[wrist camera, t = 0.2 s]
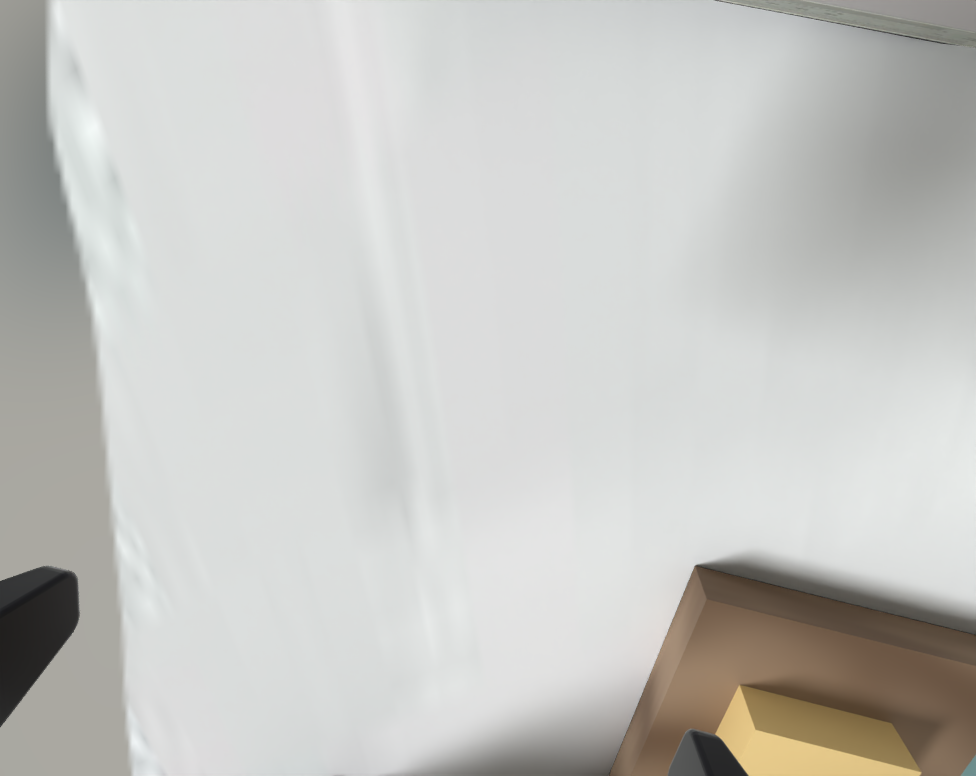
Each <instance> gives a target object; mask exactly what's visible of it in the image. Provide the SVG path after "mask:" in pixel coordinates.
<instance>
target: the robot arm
mask: <svg viewBox="0 0 976 776" xmlns="http://www.w3.org/2000/svg"><path fill="white" fill-rule="evenodd" d="M79 615H80V612H79V592H78V578H77V576H76V575H75V573H74V572H72V571H69V570H65V569H61V568H57V567H53V566H43V567H40V568H36V569H33V570H30V571H28V572H25V573H22V574H19V575H16V576H13V577H11V578H8V579H5V580H2V581H0V727H1V726H2V724H3V723H4V722H5V721H6V719H7V718H8V717H9V716H10V714H11V713H12V712H13V710H14V709H15V708H16V707H17V705H18V704H19V703H20V701H21V700H22V699H23V697H24V696H25V695H26V693H27V692H28V691H29V690H30V688H31V687H32V686H33V684H34V683H35V682H36V680H37V679H38V678H39V676H40V675H41V674H42V673H43V671H44V670H45V669H46V667H47V666H48V665H49V663H50V662H51V661H52V659H53V658H54V656H55V655H56V654H57V653H58V651H59V650H60V649H61V648H62V646H63V645H64V644H65V642H66V641H67V640H68V639H69V637H70V636H71V634H72V633H73V632H74V630H75V628H76V626H77V623H78V620H79ZM668 776H749V775H748V774H747V773H746V771H745V770H744V769H743V767H742V766H741V764H740V763H739V762H738V760H737V759H736V758H735V756H734V755H733V754H732V752H731V751H730V750H729V748H728V747H727V746H726V744H725V743H724V742H723V740H722V739H721V738H720V737H718V736H717V735H715V734H712V733H708V732H704V731H700V730H696V729H689V730H687V731H686V732H685V734H684V736H683V738H682V740H681V742H680V745H679V747H678V749H677V751H676V754H675V756H674V758H673V760H672V762H671V765H670V767H669V771H668Z"/></svg>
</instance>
